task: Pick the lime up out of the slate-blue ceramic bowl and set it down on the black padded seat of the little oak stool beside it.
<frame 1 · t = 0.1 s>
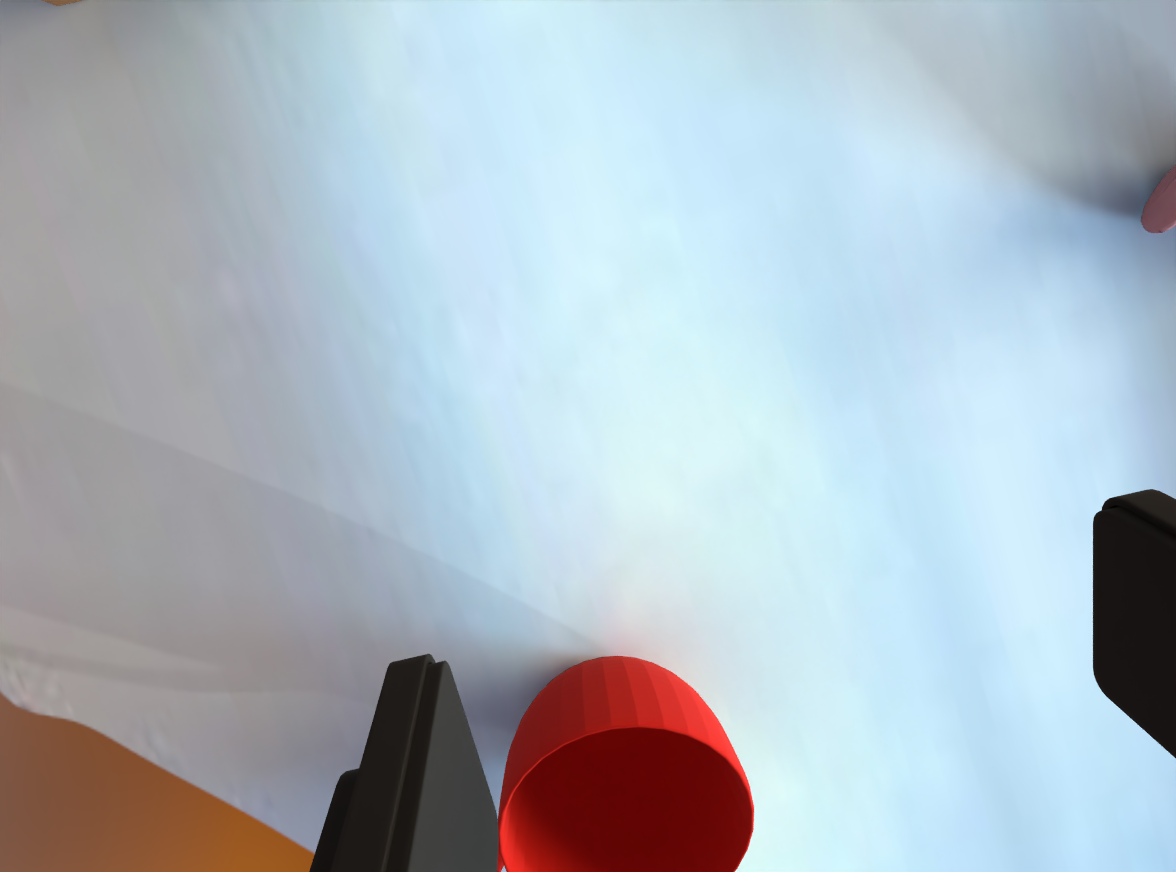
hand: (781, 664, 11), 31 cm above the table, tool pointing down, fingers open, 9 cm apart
ceramic cup: (583, 720, 49), on the table
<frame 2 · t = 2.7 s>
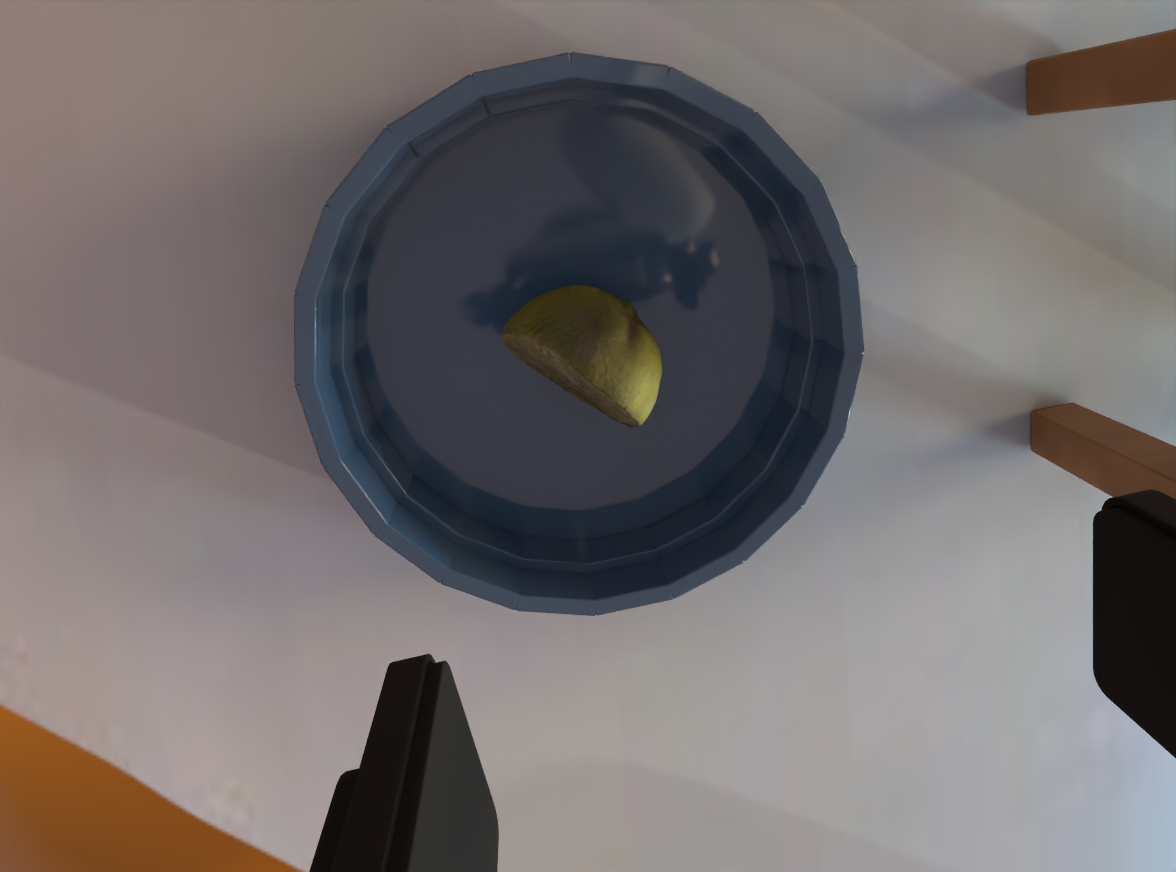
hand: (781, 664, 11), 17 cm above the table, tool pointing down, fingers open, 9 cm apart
lime: (577, 341, 26), resting on bowl
bowl: (577, 339, 26), on the table
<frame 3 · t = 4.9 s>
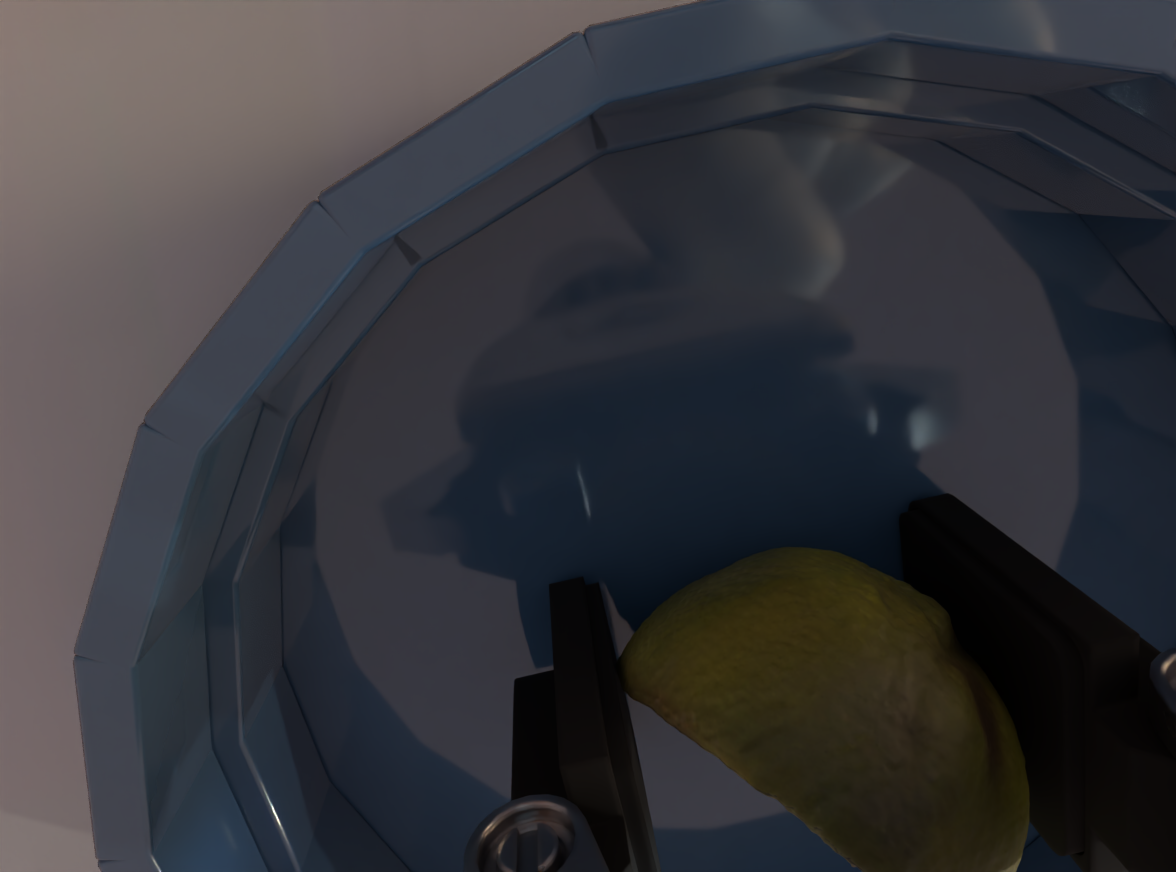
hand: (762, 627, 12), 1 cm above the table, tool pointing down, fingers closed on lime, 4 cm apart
lime: (752, 614, 12), resting on bowl, touching gripper
bowl: (748, 603, 13), on the table
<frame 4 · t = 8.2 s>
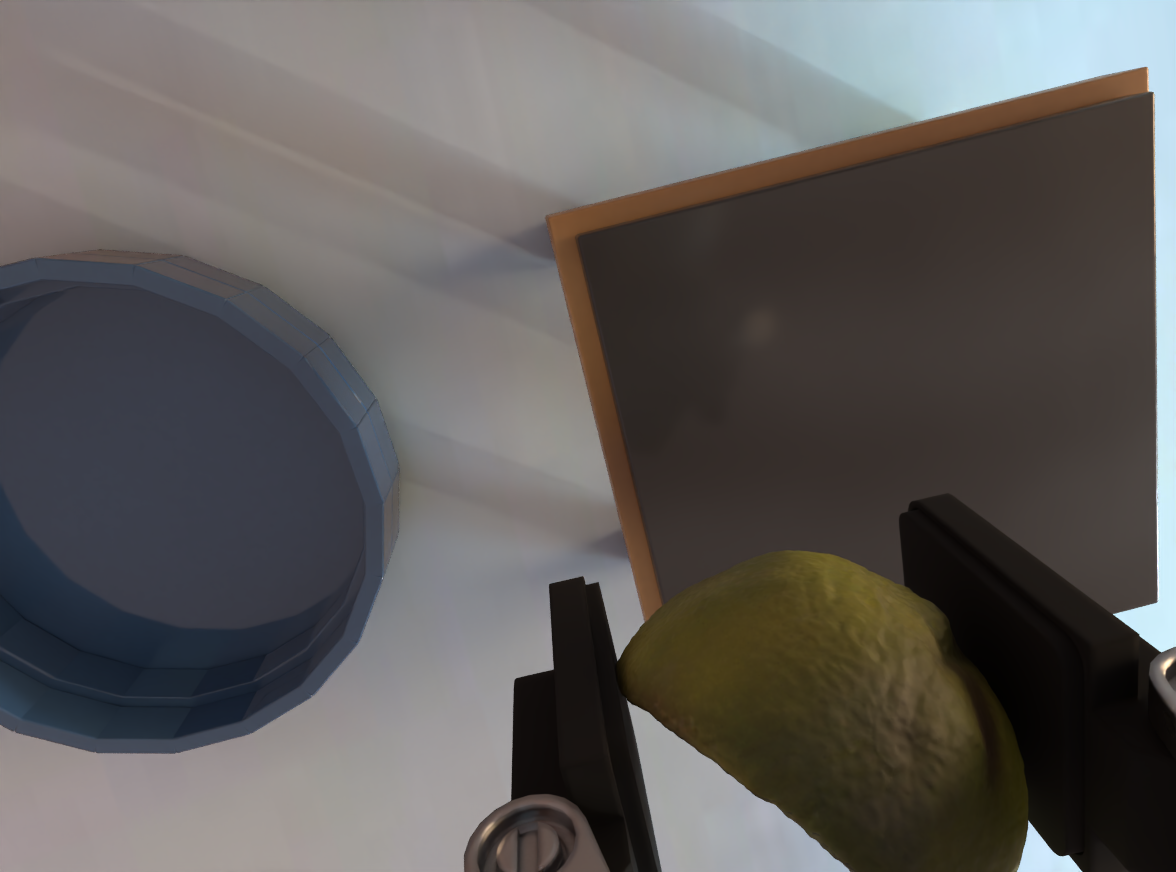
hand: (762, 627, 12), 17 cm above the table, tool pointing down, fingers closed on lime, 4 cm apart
lime: (751, 616, 12), point 16 cm above the table, touching gripper
bowl: (168, 485, 28), on the table
stool: (773, 358, 28), on the table
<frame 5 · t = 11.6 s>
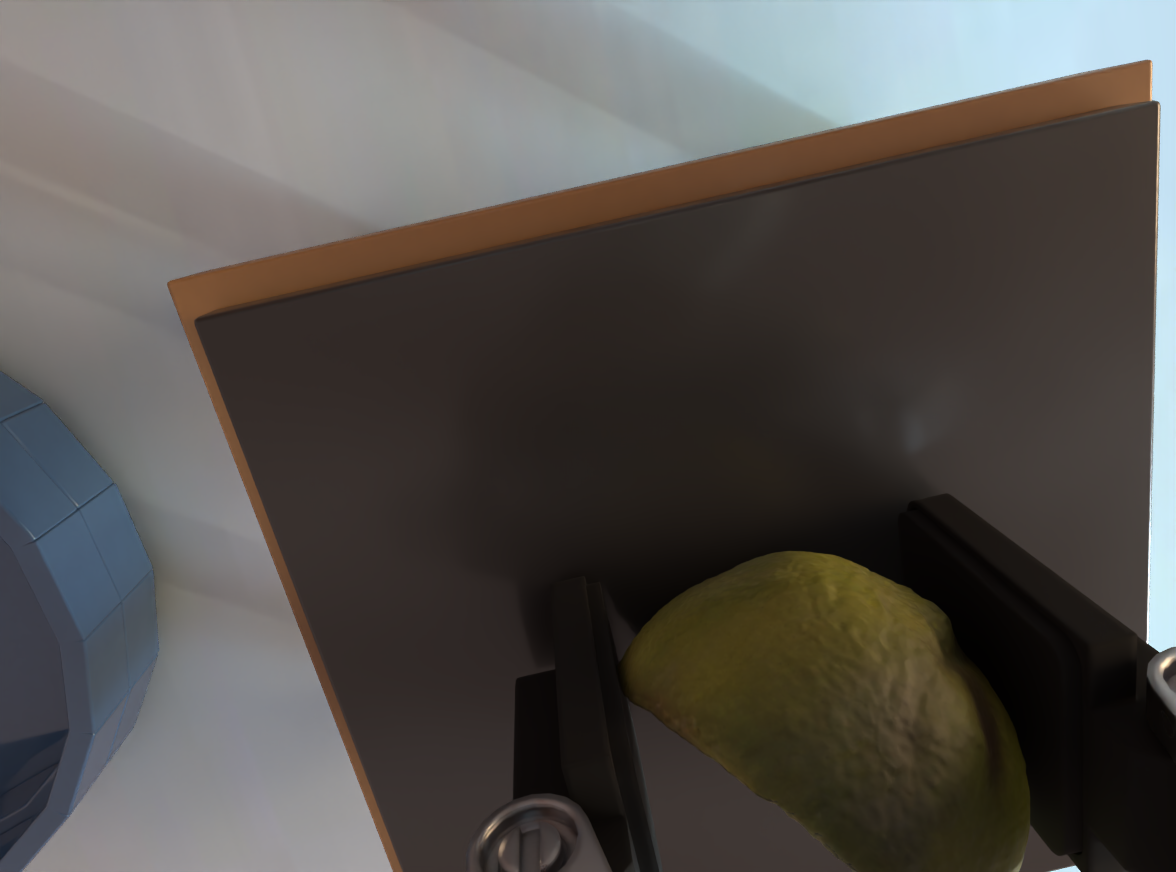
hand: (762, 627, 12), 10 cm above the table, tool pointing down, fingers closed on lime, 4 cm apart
lime: (753, 617, 12), point 10 cm above the table, touching gripper
stool: (652, 437, 21), on the table
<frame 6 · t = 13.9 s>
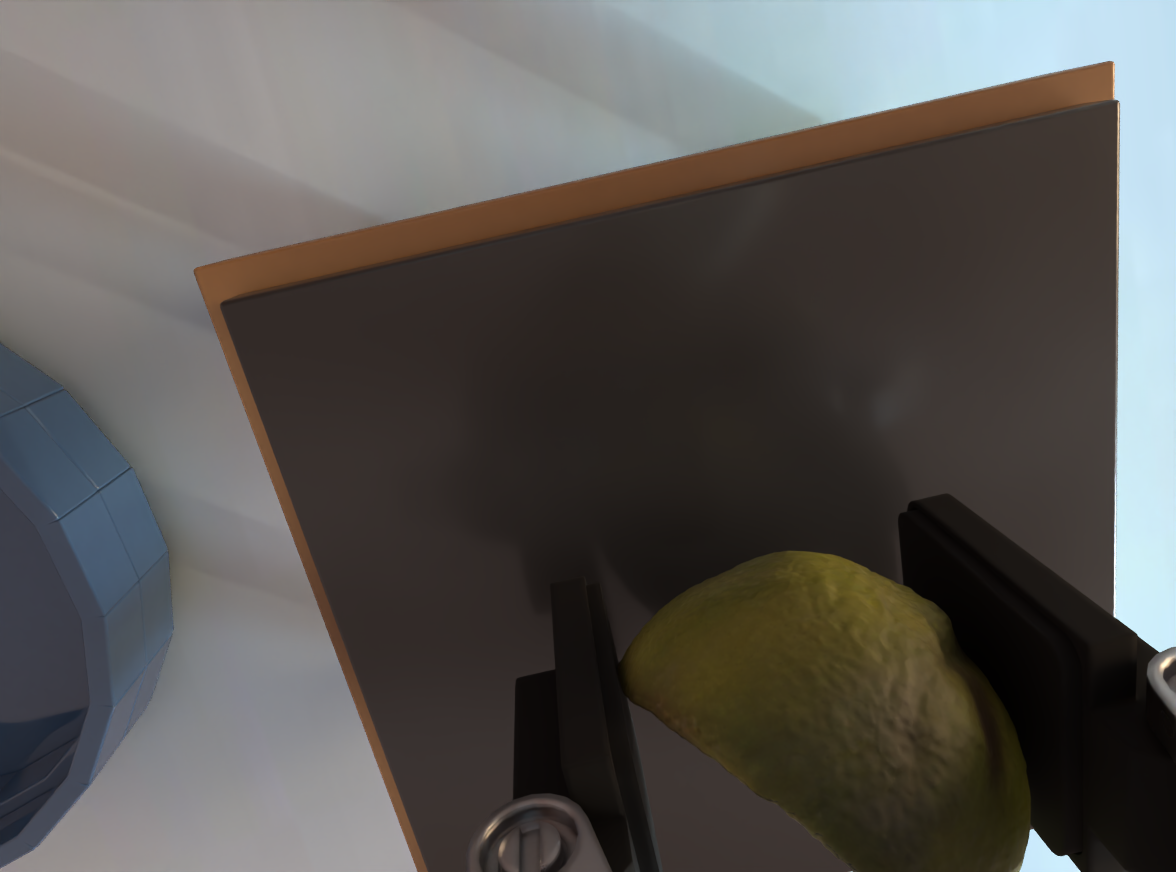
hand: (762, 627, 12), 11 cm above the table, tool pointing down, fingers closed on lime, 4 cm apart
lime: (753, 617, 12), point 11 cm above the table, touching gripper
stool: (649, 424, 22), on the table
when the fingers open (11 cm above the table, at t = 15.7 s): lime stays where it is, resting on stool.
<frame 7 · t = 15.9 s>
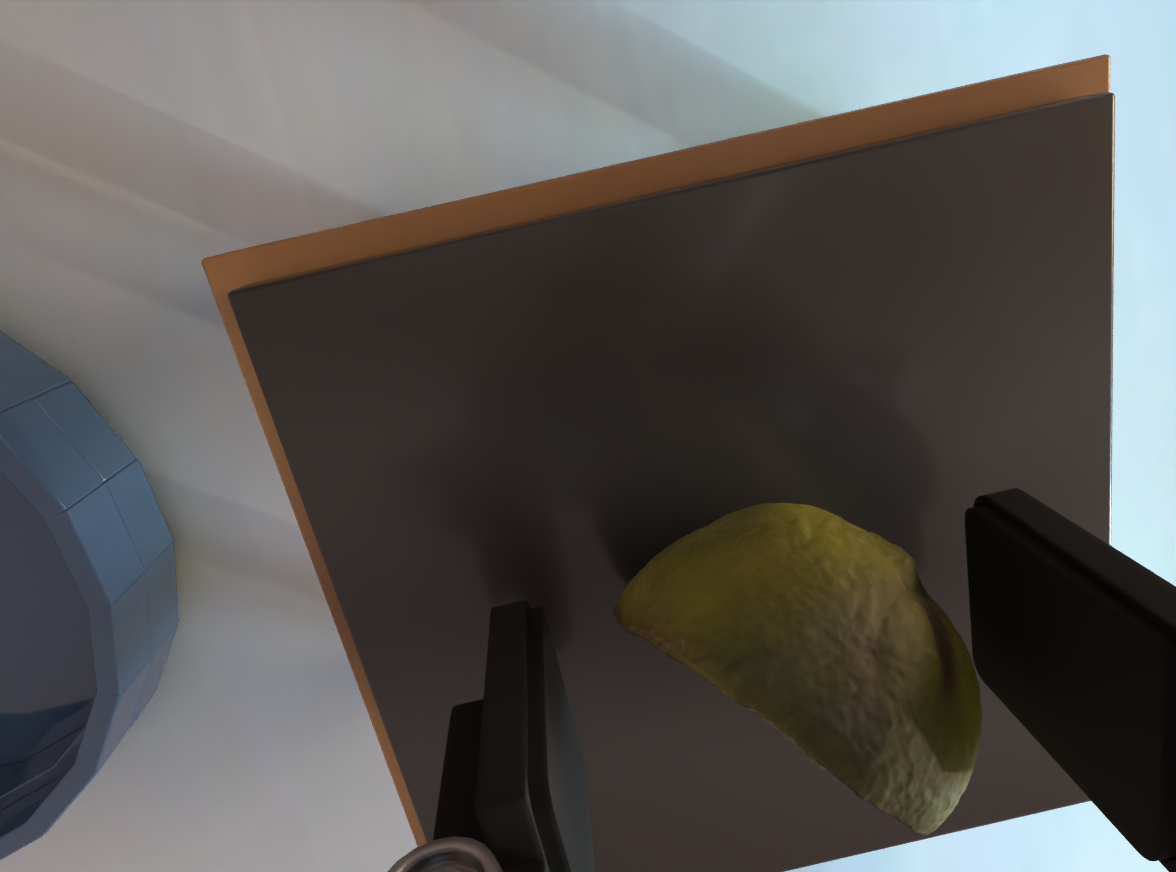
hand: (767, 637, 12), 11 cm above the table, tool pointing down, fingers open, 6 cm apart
lime: (740, 572, 13), point 10 cm above the table, touching stool
stool: (650, 417, 22), on the table
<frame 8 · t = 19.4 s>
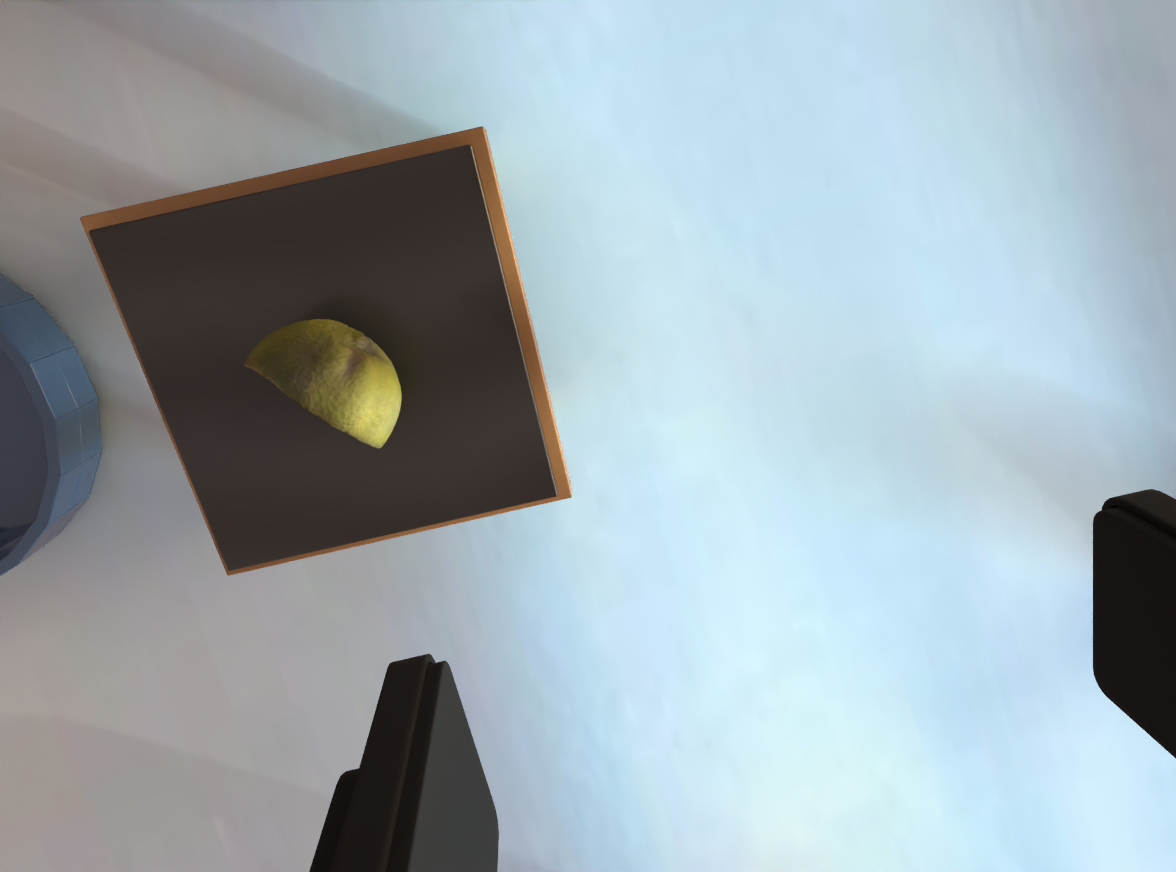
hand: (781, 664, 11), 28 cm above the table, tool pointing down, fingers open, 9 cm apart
lime: (342, 368, 28), point 10 cm above the table, touching stool
stool: (386, 324, 37), on the table
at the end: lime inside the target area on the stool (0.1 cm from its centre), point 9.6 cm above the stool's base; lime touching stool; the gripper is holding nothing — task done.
